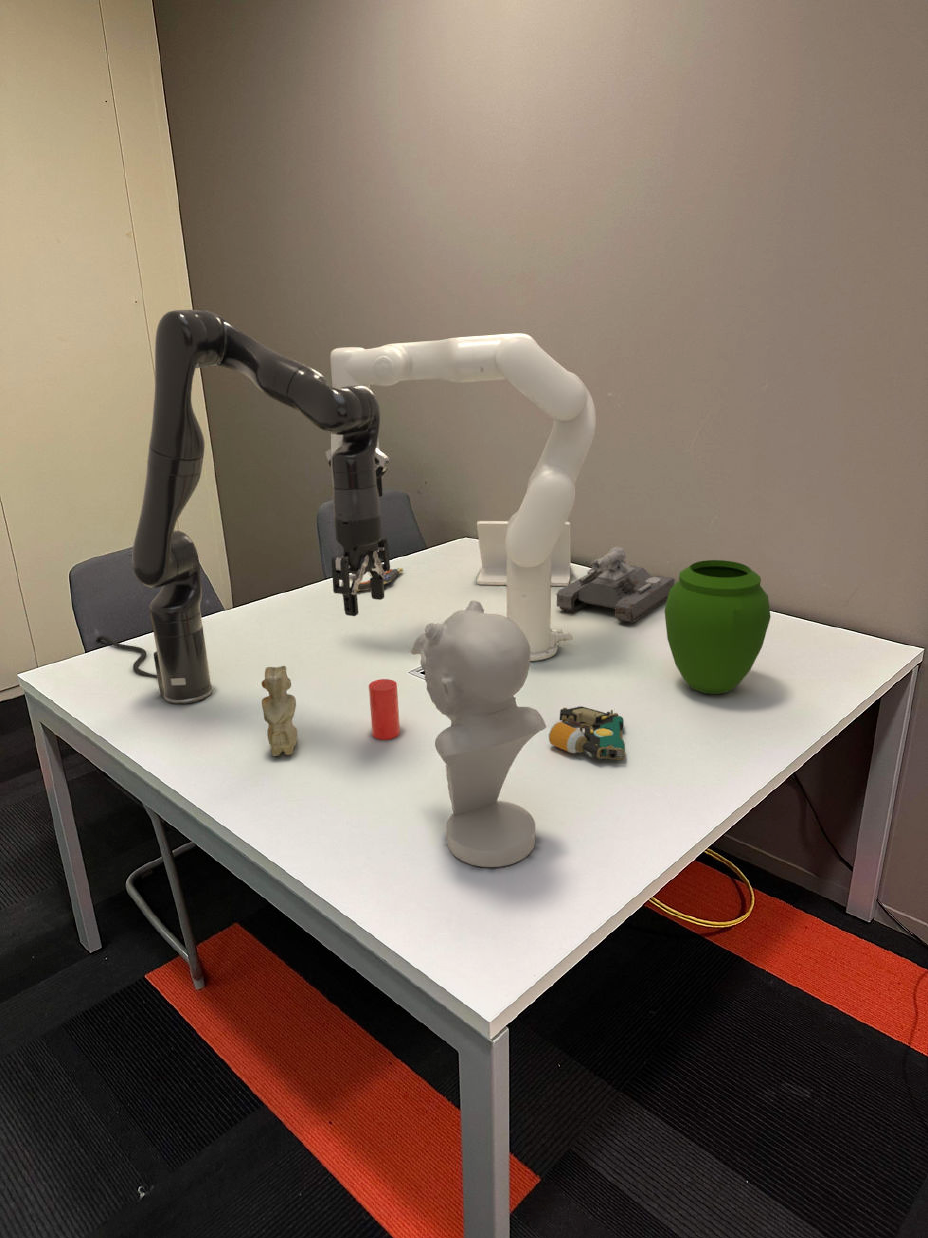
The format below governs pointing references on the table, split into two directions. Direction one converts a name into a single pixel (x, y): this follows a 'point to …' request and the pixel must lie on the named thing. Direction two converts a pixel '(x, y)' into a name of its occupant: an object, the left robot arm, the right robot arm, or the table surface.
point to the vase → (716, 623)
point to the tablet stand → (496, 555)
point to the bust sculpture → (481, 729)
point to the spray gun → (589, 733)
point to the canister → (384, 709)
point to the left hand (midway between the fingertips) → (365, 606)
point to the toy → (616, 588)
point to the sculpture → (279, 711)
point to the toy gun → (388, 578)
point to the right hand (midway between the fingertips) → (359, 494)
